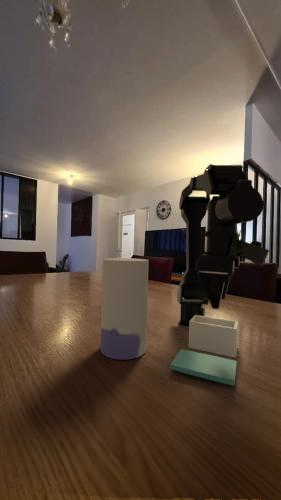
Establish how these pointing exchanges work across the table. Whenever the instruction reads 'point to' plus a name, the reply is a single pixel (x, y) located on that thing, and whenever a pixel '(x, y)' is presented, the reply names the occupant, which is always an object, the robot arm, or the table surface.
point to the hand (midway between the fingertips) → (219, 303)
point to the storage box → (213, 335)
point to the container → (124, 307)
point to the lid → (205, 366)
